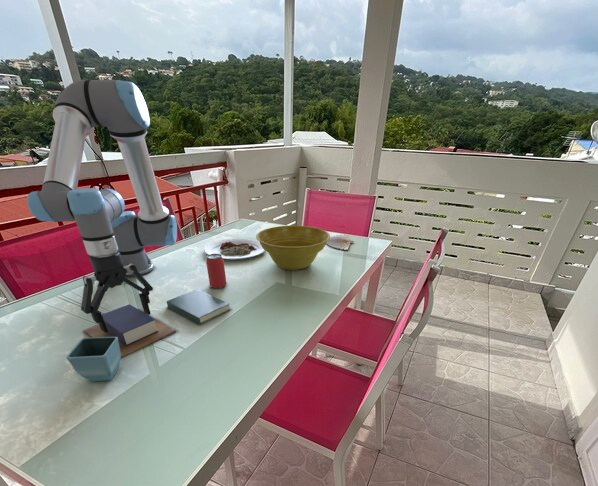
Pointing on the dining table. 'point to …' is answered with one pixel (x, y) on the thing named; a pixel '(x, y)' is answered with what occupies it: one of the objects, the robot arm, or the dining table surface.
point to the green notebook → (198, 306)
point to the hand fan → (339, 241)
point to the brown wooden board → (126, 350)
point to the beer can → (216, 271)
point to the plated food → (235, 248)
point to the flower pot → (96, 358)
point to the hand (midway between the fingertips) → (127, 321)
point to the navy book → (129, 324)
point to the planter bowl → (293, 245)
